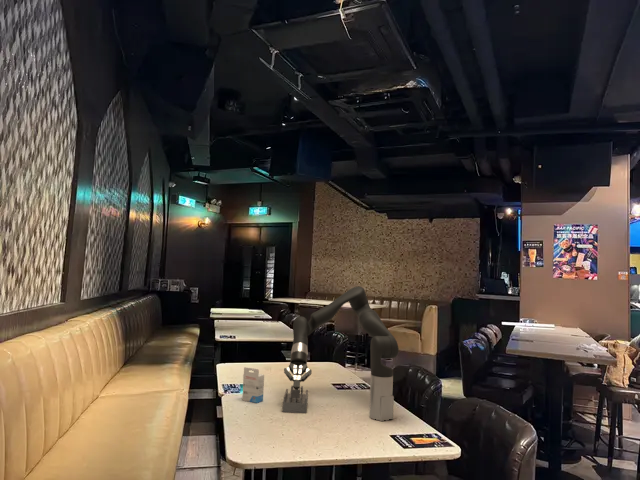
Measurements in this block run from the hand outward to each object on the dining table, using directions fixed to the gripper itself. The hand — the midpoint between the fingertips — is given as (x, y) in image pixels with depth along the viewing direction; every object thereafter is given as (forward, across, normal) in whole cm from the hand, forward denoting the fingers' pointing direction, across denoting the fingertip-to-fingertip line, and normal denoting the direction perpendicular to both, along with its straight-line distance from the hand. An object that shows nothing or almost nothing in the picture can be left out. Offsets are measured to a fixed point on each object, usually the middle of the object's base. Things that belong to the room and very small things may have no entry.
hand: (296, 388), depth 200 cm
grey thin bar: (-4, 0, -6) cm, 7 cm away
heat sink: (+5, 0, -7) cm, 8 cm away
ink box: (0, +20, -12) cm, 24 cm away
